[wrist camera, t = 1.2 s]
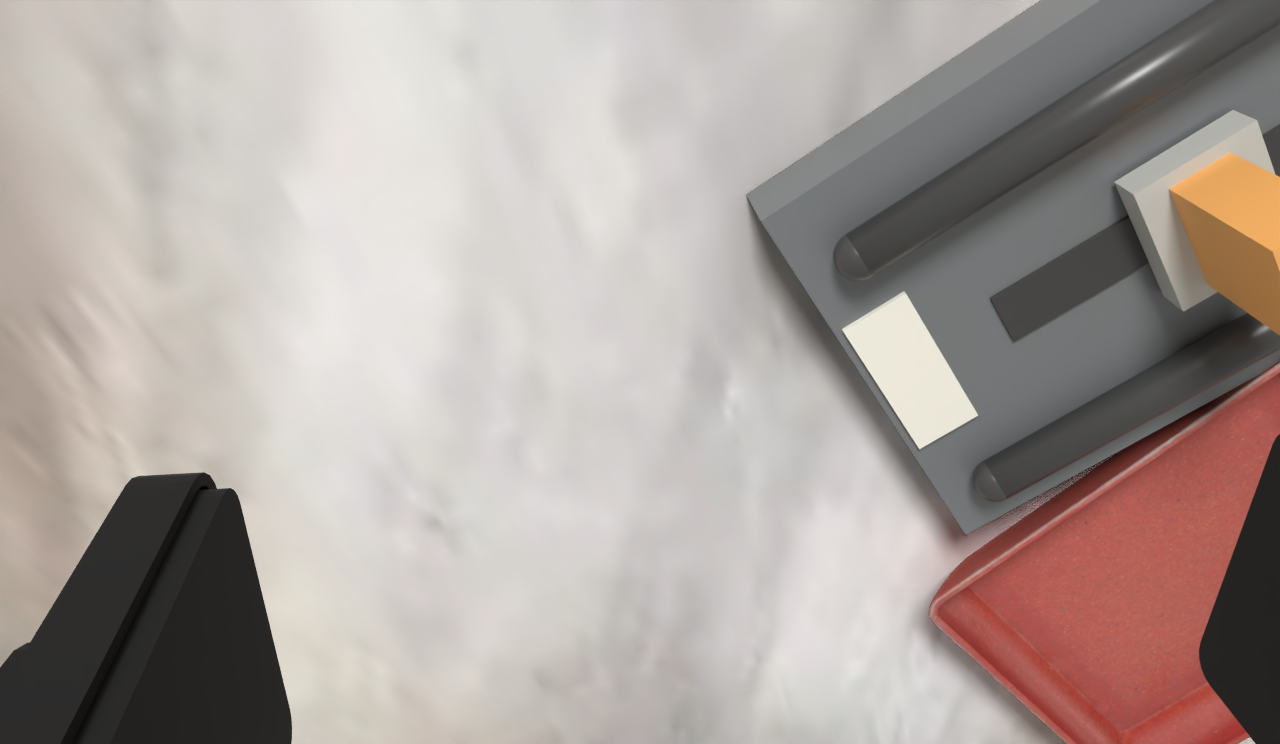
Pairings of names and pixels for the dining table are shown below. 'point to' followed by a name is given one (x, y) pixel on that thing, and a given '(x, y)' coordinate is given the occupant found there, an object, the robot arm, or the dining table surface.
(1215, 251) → the breaker lever
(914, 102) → the switch panel
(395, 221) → the dining table surface
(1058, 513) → the plant saucer
